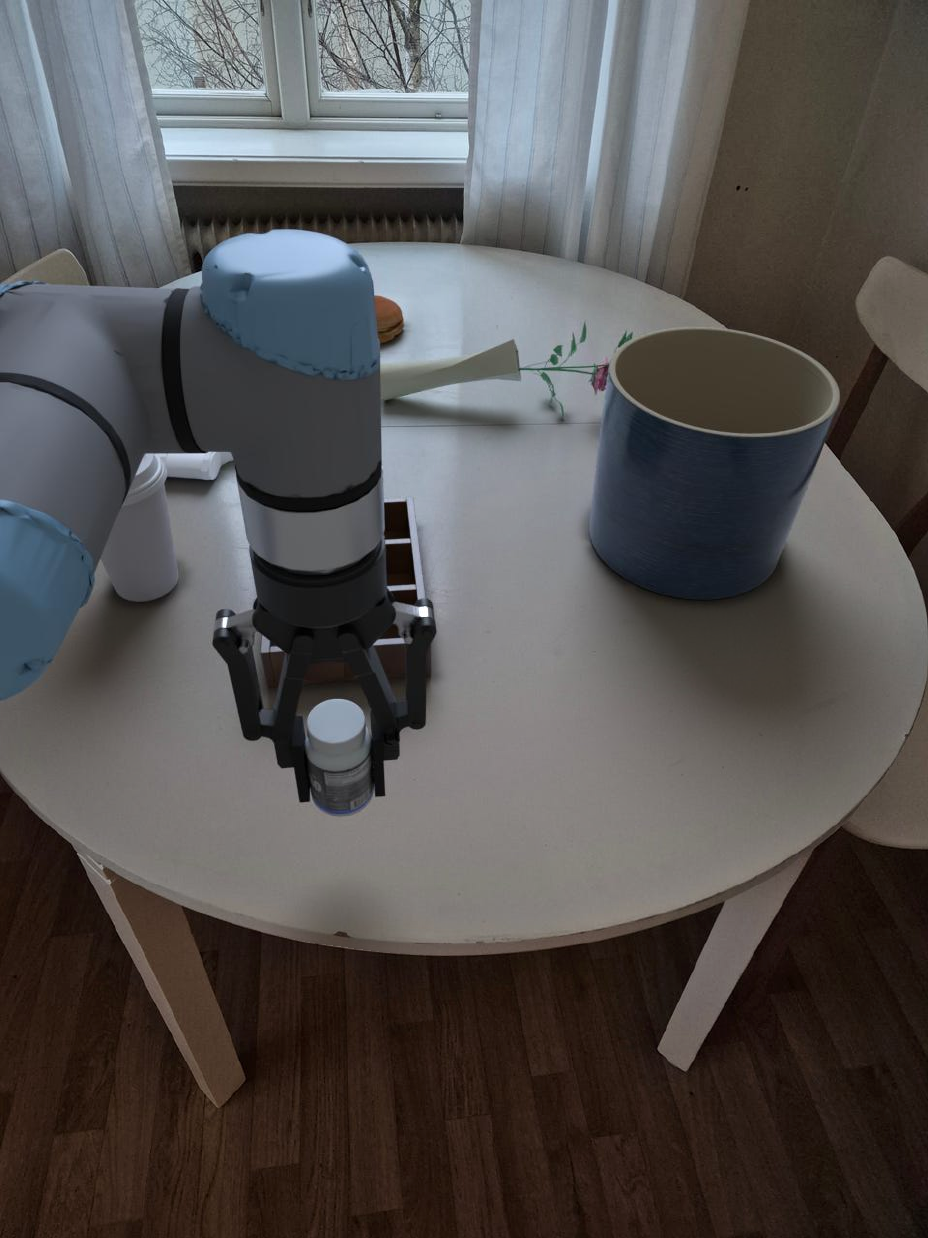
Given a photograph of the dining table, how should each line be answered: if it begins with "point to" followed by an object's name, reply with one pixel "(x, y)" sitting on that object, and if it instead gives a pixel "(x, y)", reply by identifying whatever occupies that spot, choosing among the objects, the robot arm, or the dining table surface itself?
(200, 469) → the knuckle duster
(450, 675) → the dining table surface
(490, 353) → the flower vase
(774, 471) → the planter
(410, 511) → the grid
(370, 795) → the pill bottle
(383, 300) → the burger
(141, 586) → the coffee cup
